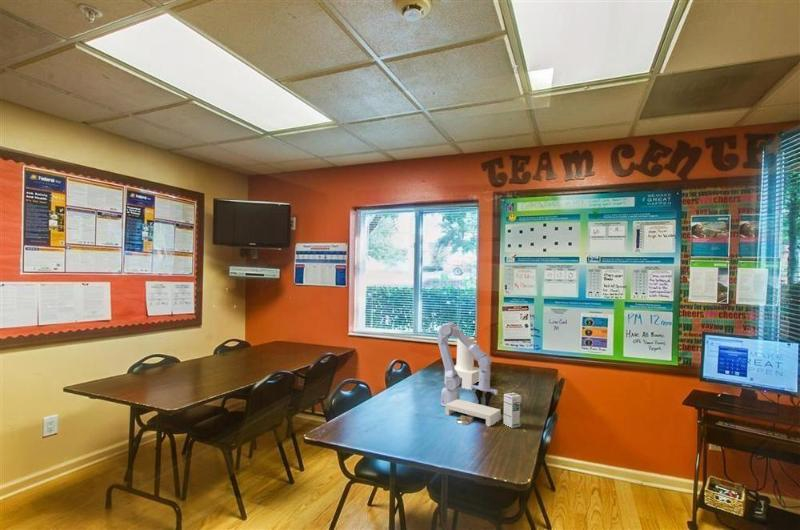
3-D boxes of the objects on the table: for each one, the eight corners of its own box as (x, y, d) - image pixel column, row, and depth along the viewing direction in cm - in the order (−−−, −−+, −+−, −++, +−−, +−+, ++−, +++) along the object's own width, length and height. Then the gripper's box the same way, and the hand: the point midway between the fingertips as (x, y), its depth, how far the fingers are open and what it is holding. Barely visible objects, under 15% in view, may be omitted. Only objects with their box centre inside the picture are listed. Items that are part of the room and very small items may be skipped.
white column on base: (458, 378, 275) (459, 334, 275) (484, 384, 264) (485, 337, 264) (444, 384, 260) (445, 337, 260) (471, 390, 249) (472, 340, 249)
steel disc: (453, 422, 193) (453, 420, 193) (462, 420, 197) (462, 417, 197) (462, 426, 188) (463, 423, 188) (471, 424, 192) (471, 421, 192)
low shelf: (445, 414, 203) (445, 404, 203) (457, 408, 212) (457, 399, 213) (489, 426, 188) (490, 415, 188) (500, 419, 198) (500, 409, 198)
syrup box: (511, 428, 187) (512, 396, 187) (502, 424, 192) (503, 393, 193) (520, 426, 190) (521, 395, 190) (512, 422, 195) (512, 391, 195)
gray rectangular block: (480, 408, 214) (480, 395, 214) (491, 411, 210) (491, 397, 210) (460, 419, 197) (460, 404, 197) (471, 422, 193) (471, 407, 193)
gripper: (500, 380, 209) (500, 406, 209) (475, 375, 218) (474, 400, 217) (494, 382, 203) (494, 410, 203) (469, 377, 212) (468, 403, 212)
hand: (483, 405), depth 210 cm, fingers closed on gray rectangular block, 3 cm apart
